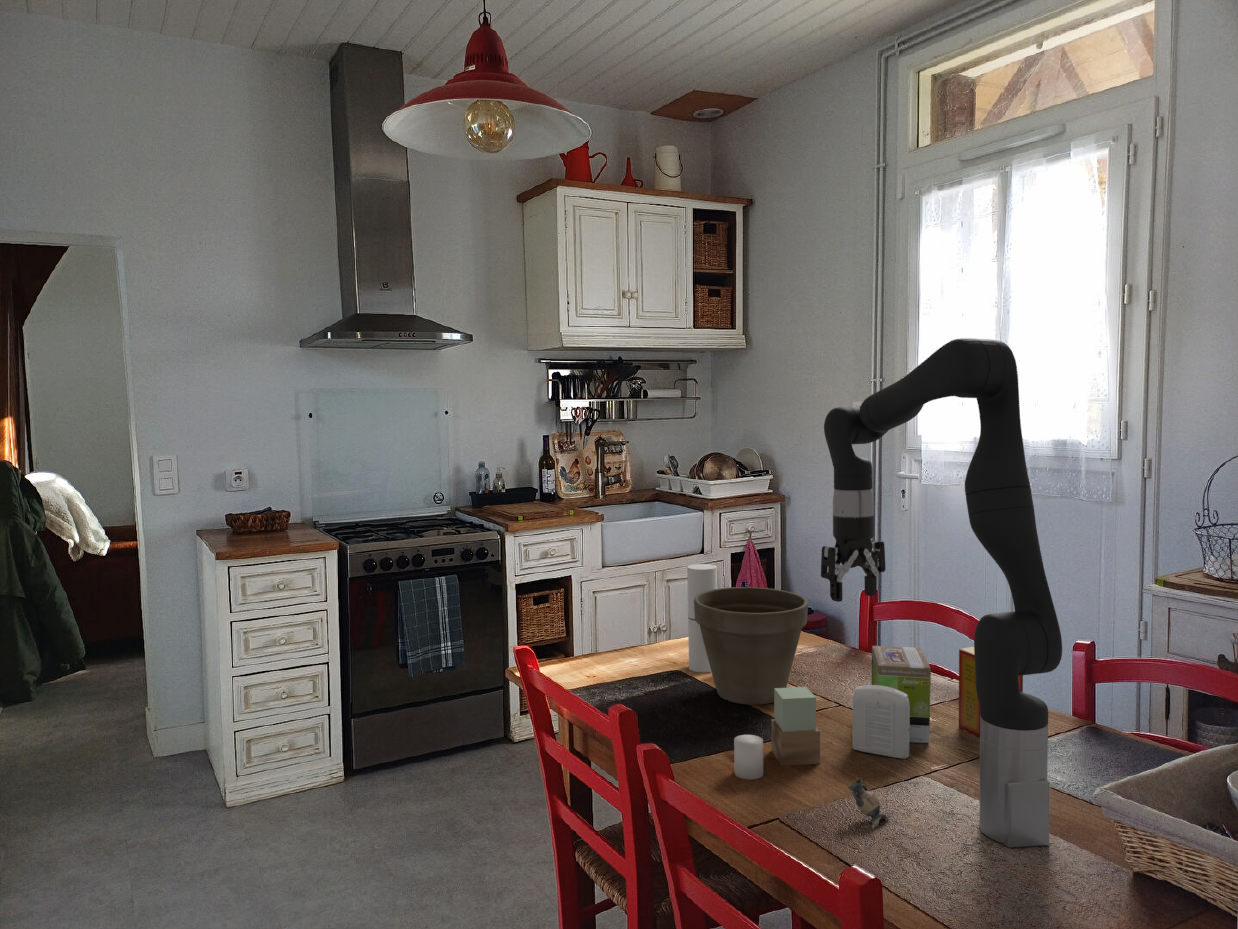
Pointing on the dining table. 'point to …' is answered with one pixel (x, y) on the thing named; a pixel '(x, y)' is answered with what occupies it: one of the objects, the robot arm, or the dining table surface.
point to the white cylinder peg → (748, 756)
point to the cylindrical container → (698, 582)
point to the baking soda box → (970, 692)
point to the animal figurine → (867, 802)
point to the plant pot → (750, 639)
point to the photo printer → (881, 721)
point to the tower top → (795, 709)
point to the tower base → (795, 746)
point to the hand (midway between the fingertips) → (853, 598)
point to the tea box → (906, 683)
